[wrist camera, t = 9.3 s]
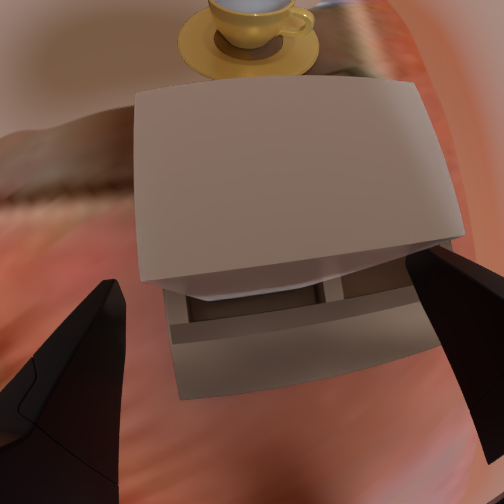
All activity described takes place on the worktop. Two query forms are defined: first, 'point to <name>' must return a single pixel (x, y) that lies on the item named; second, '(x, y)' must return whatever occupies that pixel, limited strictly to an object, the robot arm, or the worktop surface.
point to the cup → (248, 39)
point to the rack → (296, 332)
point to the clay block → (284, 182)
